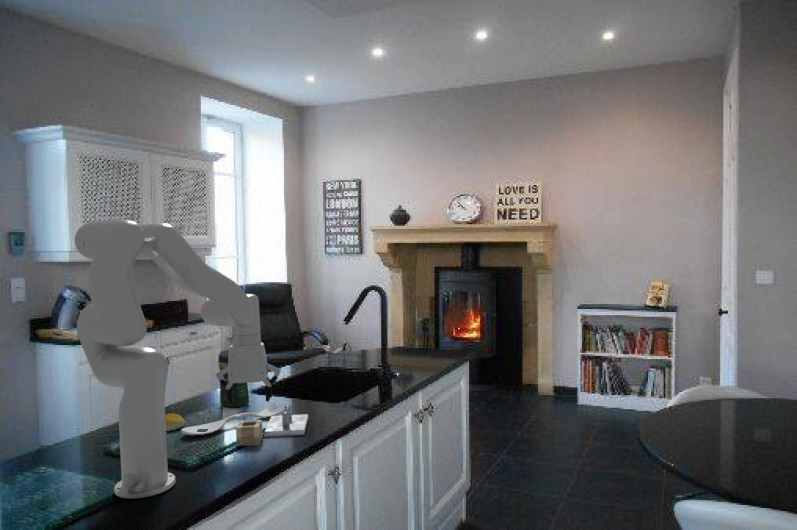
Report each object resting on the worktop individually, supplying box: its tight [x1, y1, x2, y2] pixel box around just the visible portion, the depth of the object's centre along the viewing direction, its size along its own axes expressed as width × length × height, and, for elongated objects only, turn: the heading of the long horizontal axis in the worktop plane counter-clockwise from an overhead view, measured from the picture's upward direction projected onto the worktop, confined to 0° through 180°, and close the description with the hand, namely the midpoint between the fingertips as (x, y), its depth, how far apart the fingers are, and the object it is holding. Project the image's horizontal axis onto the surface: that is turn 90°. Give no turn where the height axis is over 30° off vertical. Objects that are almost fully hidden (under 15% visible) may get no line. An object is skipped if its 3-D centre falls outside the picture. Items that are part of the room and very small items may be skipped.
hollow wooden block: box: [235, 419, 264, 447], centre depth 160 cm, size 6×6×5 cm
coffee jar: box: [218, 349, 250, 408], centre depth 198 cm, size 10×8×19 cm
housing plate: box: [264, 404, 309, 438], centre depth 172 cm, size 15×11×6 cm
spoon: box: [180, 402, 285, 436], centre depth 175 cm, size 9×32×4 cm, turn 132°
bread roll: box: [165, 413, 186, 429], centre depth 175 cm, size 8×9×4 cm
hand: (250, 401), depth 160 cm, fingers open, 9 cm apart
